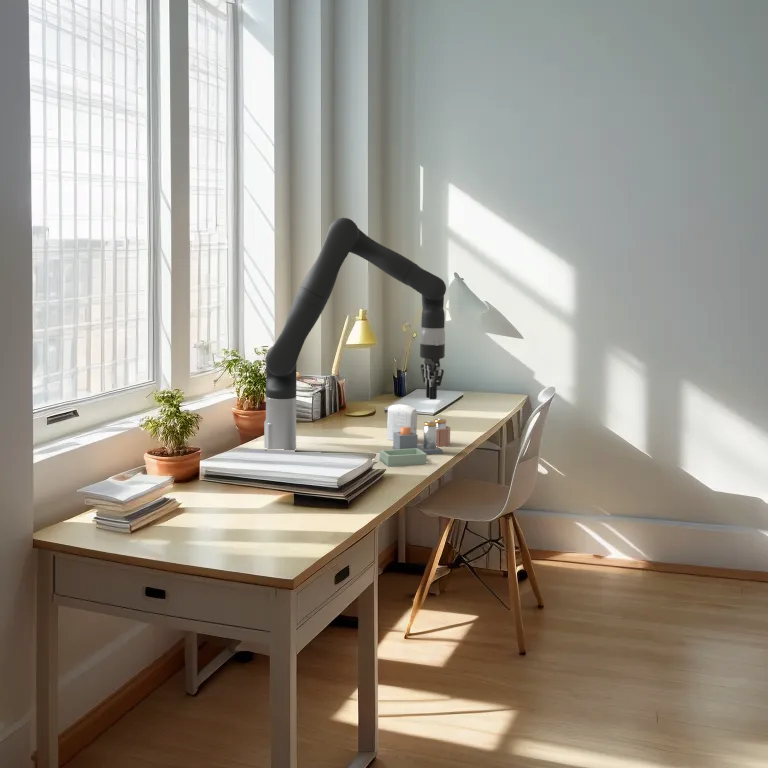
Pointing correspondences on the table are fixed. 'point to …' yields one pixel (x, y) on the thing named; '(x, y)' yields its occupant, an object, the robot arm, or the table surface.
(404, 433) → the button
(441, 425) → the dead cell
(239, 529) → the table surface
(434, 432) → the cylinder
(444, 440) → the cup
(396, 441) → the grey stepped block
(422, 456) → the trough
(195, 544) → the table surface
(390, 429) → the photo printer
